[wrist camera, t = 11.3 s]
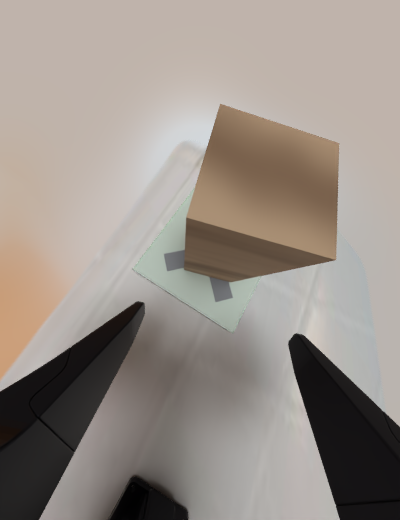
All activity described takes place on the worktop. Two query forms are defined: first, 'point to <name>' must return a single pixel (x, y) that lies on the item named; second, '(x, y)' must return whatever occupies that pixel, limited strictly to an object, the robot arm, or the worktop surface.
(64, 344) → the worktop surface
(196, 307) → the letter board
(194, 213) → the walnut block
